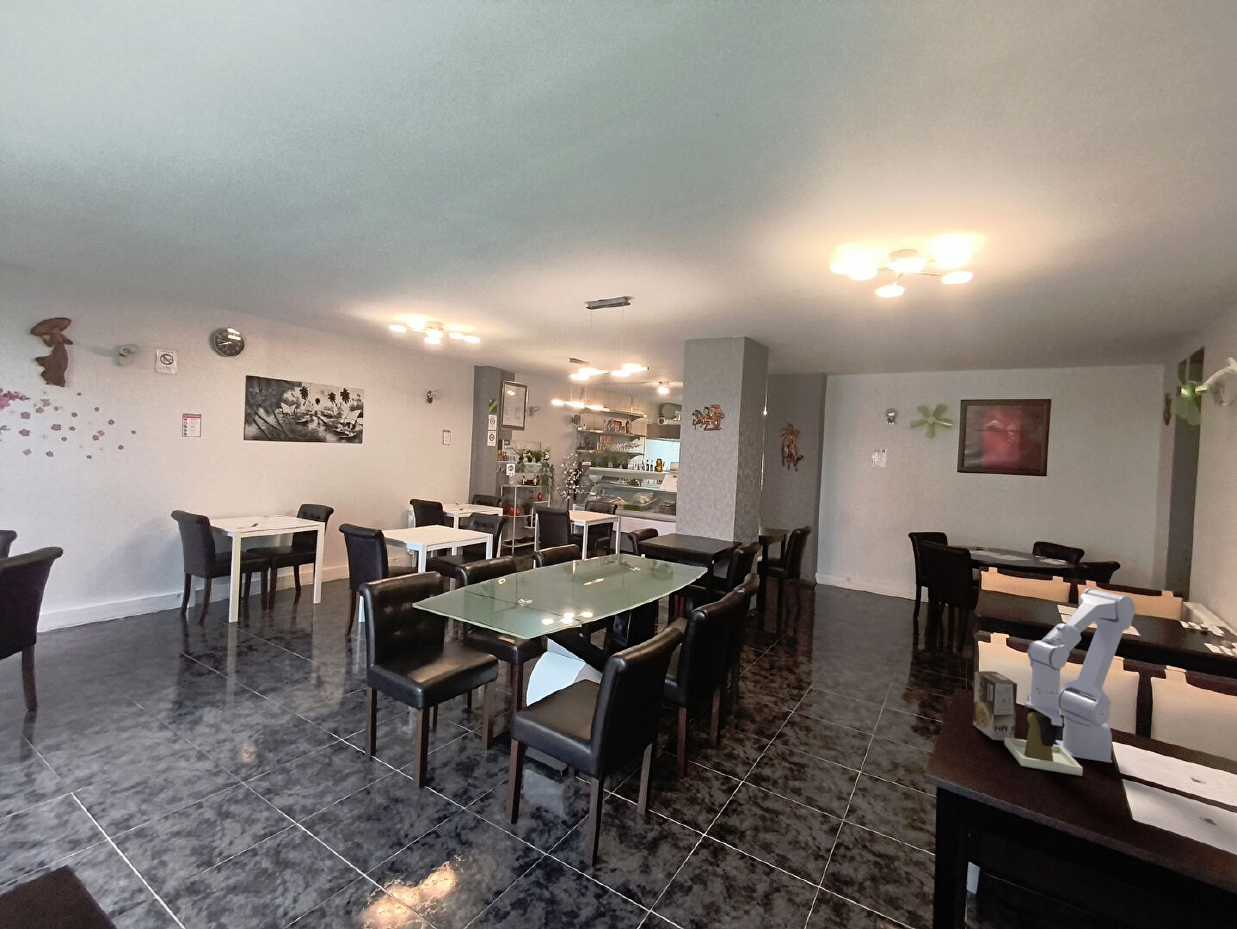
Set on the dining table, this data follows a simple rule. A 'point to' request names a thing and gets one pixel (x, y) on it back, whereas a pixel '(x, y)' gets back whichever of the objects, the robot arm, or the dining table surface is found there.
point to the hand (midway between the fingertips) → (1042, 740)
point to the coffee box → (994, 705)
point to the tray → (1059, 764)
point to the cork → (1036, 740)
